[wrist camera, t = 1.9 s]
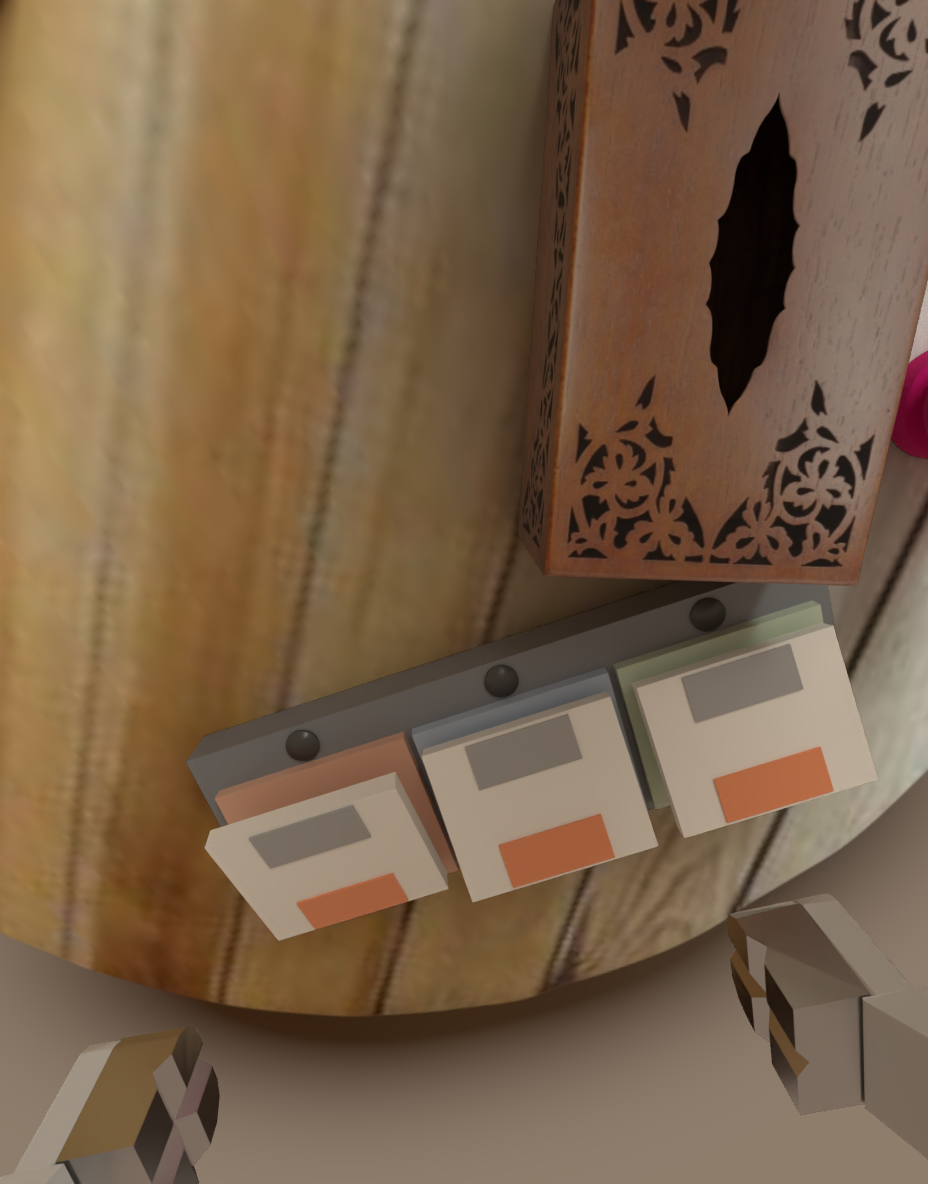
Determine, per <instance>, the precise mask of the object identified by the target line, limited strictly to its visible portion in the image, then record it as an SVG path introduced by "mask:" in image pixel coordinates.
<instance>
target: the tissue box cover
mask: <svg viewBox="0 0 928 1184" xmlns="http://www.w3.org/2000/svg"><path fill="white" fill-rule="evenodd" d="M927 281H928V0H555V3H554V7H553V22H552V37H551V51H550V66H549V81H548V96H547V110H546V125H545V140H544V155H543V170H542V184H541V199H540V214H539V229H538V243H537V258H536V273H535V288H534V303H533V317H532V332H531V347H530V362H529V376H528V391H527V406H526V421H525V436H524V450H523V465H522V480H521V495H520V510H519V524H518V535H519V537H520V539H521V540H522V542H523V543H524V545H525V546H526V548H527V550H528V551H529V553H530V554H531V556H532V557H533V559H534V561H535V562H536V564H537V565H538V567H539V568H540V570H541V572H542V573H543V575H544V576H555V577H587V578H619V579H651V580H684V581H716V582H748V583H780V584H812V585H844V586H857V583H858V578H859V574H860V570H861V565H862V561H863V557H864V553H865V548H866V544H867V540H868V535H869V531H870V527H871V522H872V518H873V514H874V509H875V505H876V501H877V496H878V492H879V488H880V484H881V479H882V475H883V471H884V466H885V462H886V458H887V453H888V449H889V445H890V440H891V436H892V432H893V428H894V423H895V419H896V415H897V410H898V406H899V402H900V397H901V393H902V389H903V384H904V380H905V376H906V372H907V367H908V363H909V359H910V354H911V350H912V346H913V341H914V337H915V333H916V328H917V324H918V320H919V316H920V311H921V307H922V303H923V298H924V294H925V290H926V285H927Z"/></svg>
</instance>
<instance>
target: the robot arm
mask: <svg viewBox="0 0 928 1184" xmlns="http://www.w3.org/2000/svg"><path fill="white" fill-rule="evenodd" d="M727 933H728V937H729V938H730V940H731V942H732V943H733V945H734V947H735V949H736V951H735V952H734V954H733V955H732V957H731V958H730V962H731V969H732V977H733V981H734V984H735V987H736V991H737V994H738V998H739V1000H740V1002H741V1005H742V1007H743V1009H744V1012H745V1014H746V1016H747V1018H748V1020H749V1022H750V1024H751V1026H752V1027H753V1029H754V1031H755V1033H757V1034H758V1035H760V1036H761V1037H763V1038H764V1039H766V1040H767V1041H769V1042H770V1047H771V1057H772V1065H773V1066H774V1068H775V1070H776V1072H777V1074H778V1076H779V1077H780V1079H781V1081H782V1083H783V1084H784V1087H785V1088H786V1090H787V1092H788V1094H789V1096H790V1098H791V1099H792V1101H793V1103H794V1105H795V1107H796V1108H797V1110H798V1112H799V1114H800V1115H804V1114H809V1113H816V1112H821V1111H827V1110H833V1109H839V1108H845V1107H851V1106H856V1105H862V1104H865V1109H867V1110H868V1111H869V1112H870V1113H872V1114H873V1115H874V1116H875V1117H876V1118H878V1119H879V1120H880V1121H881V1122H883V1123H884V1124H885V1125H886V1126H887V1127H889V1128H890V1129H891V1130H893V1131H894V1132H895V1133H896V1134H897V1135H899V1136H900V1137H901V1138H902V1139H904V1140H905V1141H906V1142H907V1143H908V1144H910V1145H911V1146H912V1147H913V1148H915V1149H916V1150H917V1151H918V1152H919V1153H921V1154H922V1155H923V1156H924V1157H926V1158H927V1159H928V987H926V986H918V987H913V986H912V985H911V984H910V983H909V982H908V981H907V980H906V978H904V976H903V975H902V974H901V973H900V972H899V970H898V969H897V968H896V967H895V966H894V965H893V964H892V962H891V961H890V960H889V959H888V958H887V957H886V956H885V954H884V953H883V952H882V951H881V950H880V949H879V948H878V946H877V945H876V944H875V943H874V942H873V941H872V940H871V938H870V937H869V936H868V935H867V934H866V933H865V932H864V930H863V929H862V928H861V927H860V926H859V925H858V924H857V923H856V921H855V920H854V919H853V918H852V917H851V916H850V914H849V913H848V912H847V911H846V910H845V909H844V908H843V907H842V905H841V904H840V903H839V902H838V901H837V900H836V899H835V898H834V897H833V896H831V895H829V894H827V893H826V894H821V895H816V896H812V897H807V898H802V899H798V900H794V901H787V902H783V903H778V904H773V905H769V906H764V907H760V908H755V909H751V910H746V911H742V912H737V913H732V914H728V918H727ZM202 1045H203V1042H202V1041H201V1038H200V1036H199V1034H198V1032H197V1030H196V1027H184V1028H178V1029H172V1030H167V1031H161V1032H156V1033H150V1034H144V1035H138V1036H133V1037H128V1038H123V1039H119V1040H114V1041H108V1042H103V1043H97V1044H92V1045H90V1046H89V1047H88V1048H87V1049H86V1050H85V1051H83V1052H82V1053H81V1054H80V1055H79V1057H78V1058H77V1060H76V1062H75V1064H74V1066H73V1067H72V1069H71V1071H70V1073H69V1074H68V1076H67V1078H66V1080H65V1082H64V1083H63V1085H62V1087H61V1089H60V1090H59V1092H58V1094H57V1096H56V1097H55V1099H54V1101H53V1103H52V1105H51V1107H50V1108H49V1110H48V1112H47V1114H46V1115H45V1117H44V1119H43V1121H42V1122H41V1124H40V1126H39V1128H38V1130H37V1131H36V1133H35V1135H34V1137H33V1138H32V1140H31V1142H30V1144H29V1146H28V1147H27V1149H26V1151H25V1153H24V1155H23V1156H22V1158H21V1160H20V1162H19V1163H18V1165H17V1167H16V1169H15V1171H14V1172H13V1174H8V1175H4V1176H1V1177H0V1184H199V1181H198V1177H197V1174H196V1171H195V1168H194V1165H195V1164H196V1162H197V1161H198V1160H199V1158H200V1157H201V1156H202V1154H203V1153H204V1152H205V1151H206V1150H207V1148H208V1147H209V1146H210V1144H211V1141H212V1138H213V1134H214V1131H215V1127H216V1124H217V1117H218V1107H219V1088H218V1081H217V1077H216V1074H215V1072H214V1069H213V1066H212V1065H210V1064H209V1063H207V1062H205V1061H204V1060H202V1059H201V1058H199V1057H198V1056H199V1053H200V1051H201V1048H202Z"/></svg>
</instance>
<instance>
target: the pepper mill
mask: <svg viewBox="0 0 928 1184" xmlns="http://www.w3.org/2000/svg"><path fill="white" fill-rule="evenodd" d="M891 437H892V439H893V440H894V442H895V443H896V445H897V446H898V447H899V448H900V449H902V450H903V451H904V452H906V453H908V454H910V455H912V456H915V457H919V458H925V459H928V351H926V352H924V353H923V354H921V355H919V356H918V357H916V358H915V359H914V360H913V361H911V362H910V363H909V364H908V367H907V372H906V376H905V380H904V384H903V389H902V393H901V397H900V402H899V406H898V410H897V415H896V419H895V423H894V428H893V432H892V436H891Z"/></svg>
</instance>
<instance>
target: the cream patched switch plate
mask: <svg viewBox="0 0 928 1184" xmlns="http://www.w3.org/2000/svg"><path fill="white" fill-rule="evenodd" d="M205 849H206V851H207V852H208V853H209V854H210V856H211V857H212V858H213V859H214V861H215V862H216V863H217V864H218V866H219V867H220V868H221V869H222V871H223V872H224V873H225V875H226V876H227V877H228V878H229V880H230V881H231V882H232V883H233V885H234V886H235V887H236V888H237V890H238V891H239V892H240V893H241V895H242V896H243V897H244V898H245V900H246V901H247V902H248V903H249V905H250V906H251V907H252V908H253V910H254V911H255V912H256V913H257V915H258V916H259V917H260V918H261V920H262V921H263V922H264V923H265V925H266V926H267V927H268V928H269V930H270V931H271V932H272V933H273V935H274V936H275V937H276V938H277V940H278V941H280V940H283V939H286V938H290V937H293V936H296V935H299V934H303V933H306V932H309V931H313V930H316V929H319V928H322V927H326V926H329V925H332V924H336V923H339V922H342V921H345V920H349V919H352V918H355V917H358V916H362V915H365V914H368V913H372V912H375V911H378V910H381V909H385V908H388V907H391V906H395V905H398V904H401V903H404V902H408V901H411V900H414V899H418V898H421V897H424V896H427V895H431V894H434V893H437V892H441V891H444V890H447V889H449V888H448V877H447V871H446V869H445V867H444V865H443V863H442V861H441V859H440V857H439V855H438V853H437V851H436V849H435V848H434V846H433V844H432V842H431V840H430V838H429V836H428V834H427V832H426V830H425V828H424V826H423V824H422V822H421V820H420V819H419V817H418V815H417V813H416V811H415V809H414V807H413V805H412V803H411V801H410V799H409V797H408V795H407V793H406V791H405V789H404V788H403V786H402V784H401V782H400V780H399V778H398V776H397V774H396V772H393V773H390V774H387V775H383V776H380V777H377V778H374V779H371V780H368V781H365V782H361V783H358V784H355V785H352V786H349V787H346V788H342V789H339V790H336V791H333V792H330V793H327V794H324V795H320V796H317V797H314V798H311V799H308V800H305V801H302V802H298V803H295V804H292V805H289V806H286V807H283V808H279V809H276V810H273V811H270V812H267V813H264V814H261V815H257V816H254V817H251V818H248V819H245V820H242V821H239V822H235V823H232V824H229V825H226V826H223V827H220V828H216V829H213V830H210V833H209V836H208V839H207V842H206V845H205Z"/></svg>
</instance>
